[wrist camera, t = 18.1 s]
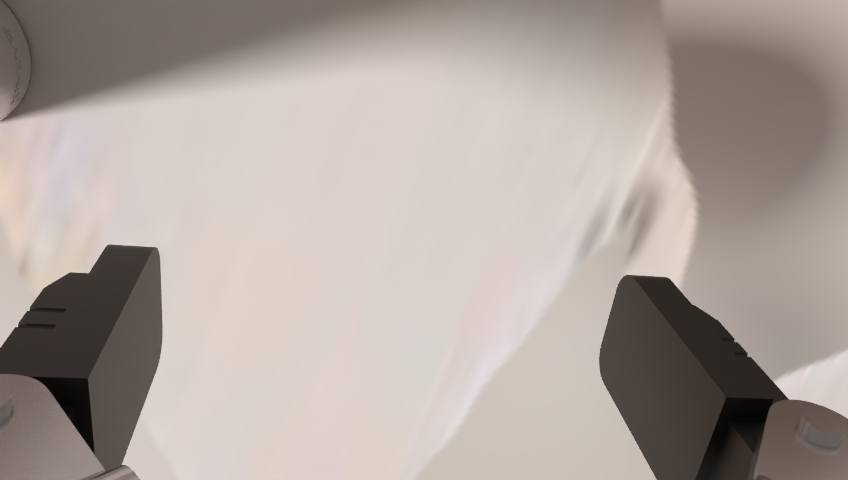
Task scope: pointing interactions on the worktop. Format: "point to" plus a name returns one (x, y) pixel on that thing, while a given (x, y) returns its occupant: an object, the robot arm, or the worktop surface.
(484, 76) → the worktop surface
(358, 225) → the worktop surface
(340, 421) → the worktop surface
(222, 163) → the worktop surface
